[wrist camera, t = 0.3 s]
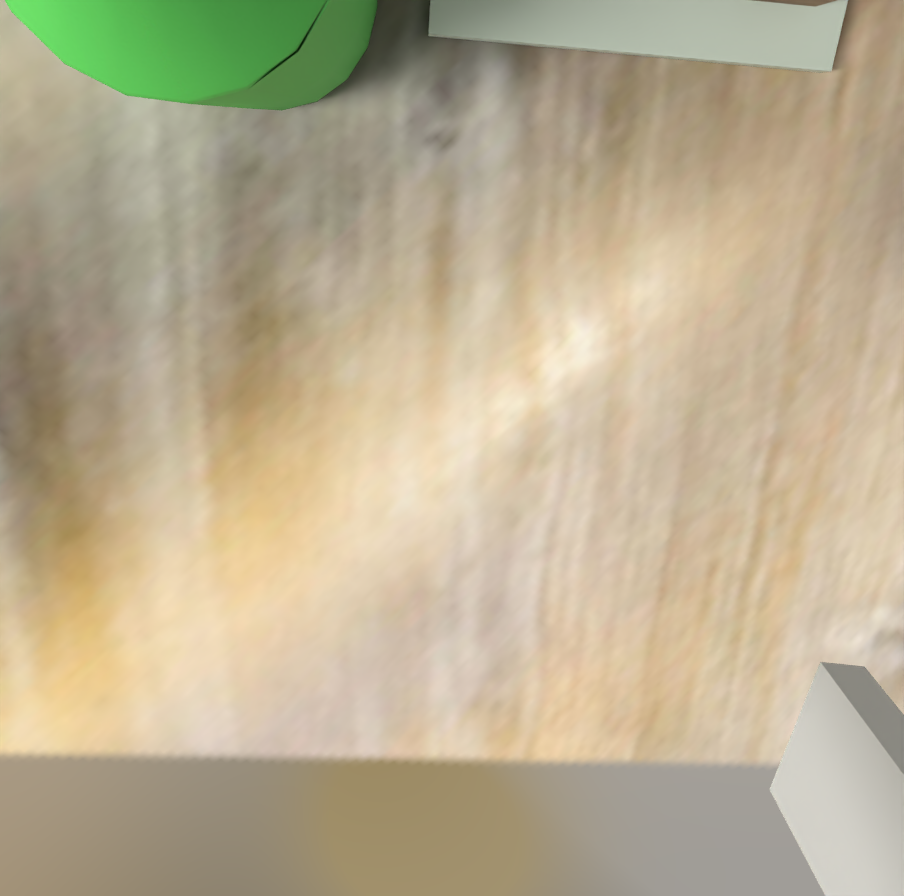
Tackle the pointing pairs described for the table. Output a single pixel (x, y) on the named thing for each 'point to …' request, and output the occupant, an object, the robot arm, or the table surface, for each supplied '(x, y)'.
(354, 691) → the table surface
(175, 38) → the bottle
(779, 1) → the tall post
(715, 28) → the rack
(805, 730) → the robot arm
